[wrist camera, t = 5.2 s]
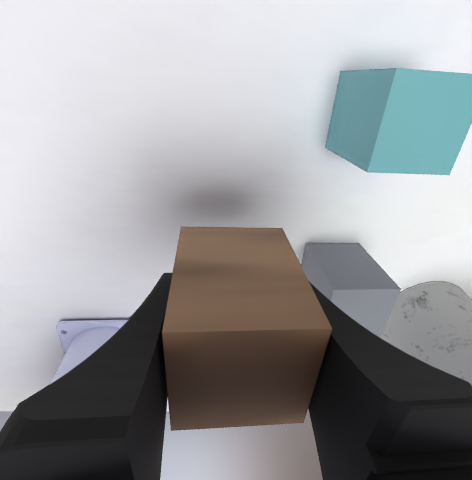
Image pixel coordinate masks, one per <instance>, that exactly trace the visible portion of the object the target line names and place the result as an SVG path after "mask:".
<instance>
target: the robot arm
mask: <svg viewBox="0 0 472 480" xmlns="http://www.w3.org/2000/svg"><path fill="white" fill-rule="evenodd" d="M172 274H173V273H164V274H163V275H162V276H161V278H160V279H159V281H158V283H157V284H156V286H155V287H154V288H153V290H152V291H151V293H150V294H149V295H148V297H147V298H146V299H145V301H144V302H143V303H142V304H141V306H140V307H139V308H138V309H137V310H136V312H135V313H134V314H133V315H132V316H131V317H130V318H129V320H82V321H60V322H59V323H58V324H57V326H56V328H57V331H58V334H59V337H60V340H61V343H62V346H63V349H64V351H65V356H64V358H63V360H62V362H61V364H60V365H59V367H58V369H57V371H56V373H55V375H54V377H53V379H52V381H51V383H50V385H48V386H46V387H45V388H43V389H42V390H40V391H38V392H37V393H35V394H34V395H32V396H30V397H29V398H27V399H26V400H24V401H22V402H20V403H19V404H18V406H17V407H16V409H15V410H14V412H13V413H12V414H11V416H10V417H9V419H8V420H7V422H6V423H5V425H4V426H3V428H2V430H1V431H0V480H160V473H161V461H162V450H163V439H164V429H165V417H166V408H167V398H168V392H167V381H166V370H165V360H164V349H163V338H162V330H163V324H164V319H165V313H166V308H167V302H168V297H169V291H170V285H171V280H172ZM309 283H310V285H311V287H312V289H313V291H314V293H315V295H316V297H317V299H318V301H319V303H320V305H321V307H322V309H323V311H324V313H325V315H326V317H327V319H328V321H329V323H330V325H331V327H332V331H331V334H330V338H329V341H328V344H327V347H326V351H325V354H324V357H323V361H322V364H321V367H320V370H319V374H318V377H317V380H316V384H315V387H314V390H313V393H312V397H311V400H310V403H309V407H308V409H309V413H310V418H311V422H312V427H313V431H314V435H315V441H316V446H317V451H318V456H319V461H320V465H321V471H322V477H323V480H472V385H471V384H470V383H469V382H467V381H465V380H463V379H460V378H458V377H456V376H454V375H451V374H449V373H447V372H444V371H442V370H440V369H438V368H435V367H433V366H431V365H429V364H427V363H425V362H423V361H421V360H419V359H417V358H415V357H413V356H411V355H409V354H407V353H405V352H404V351H402V350H400V349H398V348H396V347H395V346H393V345H391V344H390V343H388V342H386V341H385V340H383V339H381V338H380V337H378V336H376V335H375V334H373V333H372V332H370V331H369V330H368V329H366V328H365V327H363V326H362V325H360V324H359V323H357V322H356V321H355V320H353V319H352V318H351V317H349V316H348V315H347V314H346V313H344V312H343V311H342V310H341V309H339V308H338V307H337V306H336V305H335V304H334V303H332V302H331V301H330V300H329V299H328V298H327V297H326V296H324V295H323V294H322V293H321V292H320V291H319V290H318V289H317V288H316V287H315V286H314V285H313V284H312V283H311V282H309ZM64 330H65V331H64Z"/></svg>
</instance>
